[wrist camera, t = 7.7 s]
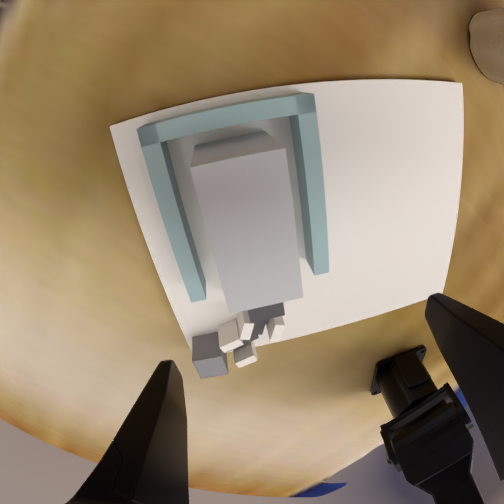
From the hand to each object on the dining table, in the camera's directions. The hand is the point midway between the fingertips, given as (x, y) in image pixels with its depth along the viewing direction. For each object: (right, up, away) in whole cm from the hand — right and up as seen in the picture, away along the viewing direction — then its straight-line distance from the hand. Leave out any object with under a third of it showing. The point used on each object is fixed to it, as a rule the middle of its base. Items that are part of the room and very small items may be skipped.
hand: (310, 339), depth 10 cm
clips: (-2, -3, +14) cm, 15 cm away
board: (+3, +5, +11) cm, 13 cm away
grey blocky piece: (-3, -3, +14) cm, 15 cm away
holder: (-3, +6, +9) cm, 11 cm away
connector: (-2, +5, +10) cm, 11 cm away
